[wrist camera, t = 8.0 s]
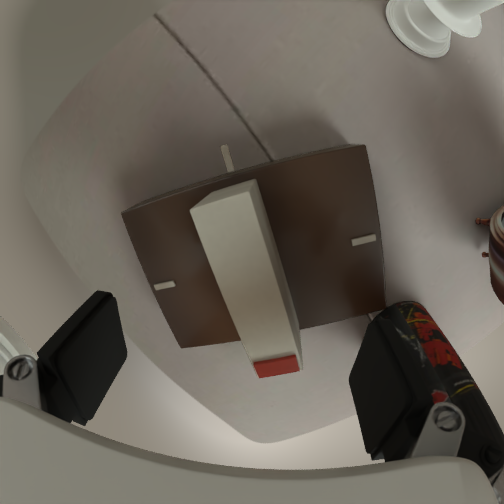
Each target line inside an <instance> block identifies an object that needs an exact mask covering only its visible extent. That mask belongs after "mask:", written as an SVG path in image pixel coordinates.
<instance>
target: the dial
mask: <svg viewBox="0 0 504 504" xmlns="http://www.w3.org/2000/svg"><path fill="white" fill-rule="evenodd" d="M190 213H191V216H192V218H193V221H194V224H195V226H196V229H197V232H198V234H199V237H200V240H201V242H202V245H203V248H204V250H205V253H206V255H207V258H208V261H209V263H210V266H211V268H212V271H213V273H214V276H215V278H216V281H217V283H218V286H219V288H220V291H221V293H222V296H223V298H224V300H225V303H226V305H227V308H228V310H229V313H230V315H231V317H232V320H233V322H234V324H235V327H236V329H237V332H238V334H239V336H240V338H241V341H242V343H243V345H244V348H245V350H246V352H247V355H248V357H249V359H250V361H251V364H252V366H253V368H254V370H255V373H256V375H257V377H259V378H264V377H270V376H276V375H281V374H287V373H292V372H297V371H300V370H302V369H303V360H302V349H301V339H300V330H299V322H298V319H297V315H296V312H295V308H294V304H293V301H292V297H291V294H290V290H289V287H288V283H287V280H286V276H285V273H284V270H283V266H282V263H281V259H280V256H279V253H278V249H277V246H276V242H275V239H274V236H273V232H272V229H271V226H270V223H269V219H268V216H267V213H266V210H265V206H264V203H263V200H262V197H261V193H260V190H259V187H258V184H257V181H256V179H252V180H249V181H246V182H242V183H239V184H236V185H233V186H229V187H226V188H223V189H220V190H217V191H214V192H211V193H210V194H209V195H208V196H206V197H205V198H204V199H203V200H201V201H200V202H199V203H198V204H196V205H195V206H194V207H193V208H191V209H190Z"/></svg>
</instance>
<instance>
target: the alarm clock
mask: <svg viewBox="0 0 504 504" xmlns="http://www.w3.org/2000/svg"><path fill="white" fill-rule="evenodd" d="M476 223H477V224H484V225H487V226H490V236H489V253H486V252H483V253H482V257H489V264H490V277H491V284H492V287H493V290H494V292H495V294H496V295H497V297H498V299H499V300H500V301H501V302H502V303H503V304H504V205H503V206H502V207H500V208H499V209H498V210H497V211H496V212H495V213H494V214H493V216H492V218H491V219H480V218H477V219H476Z"/></svg>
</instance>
